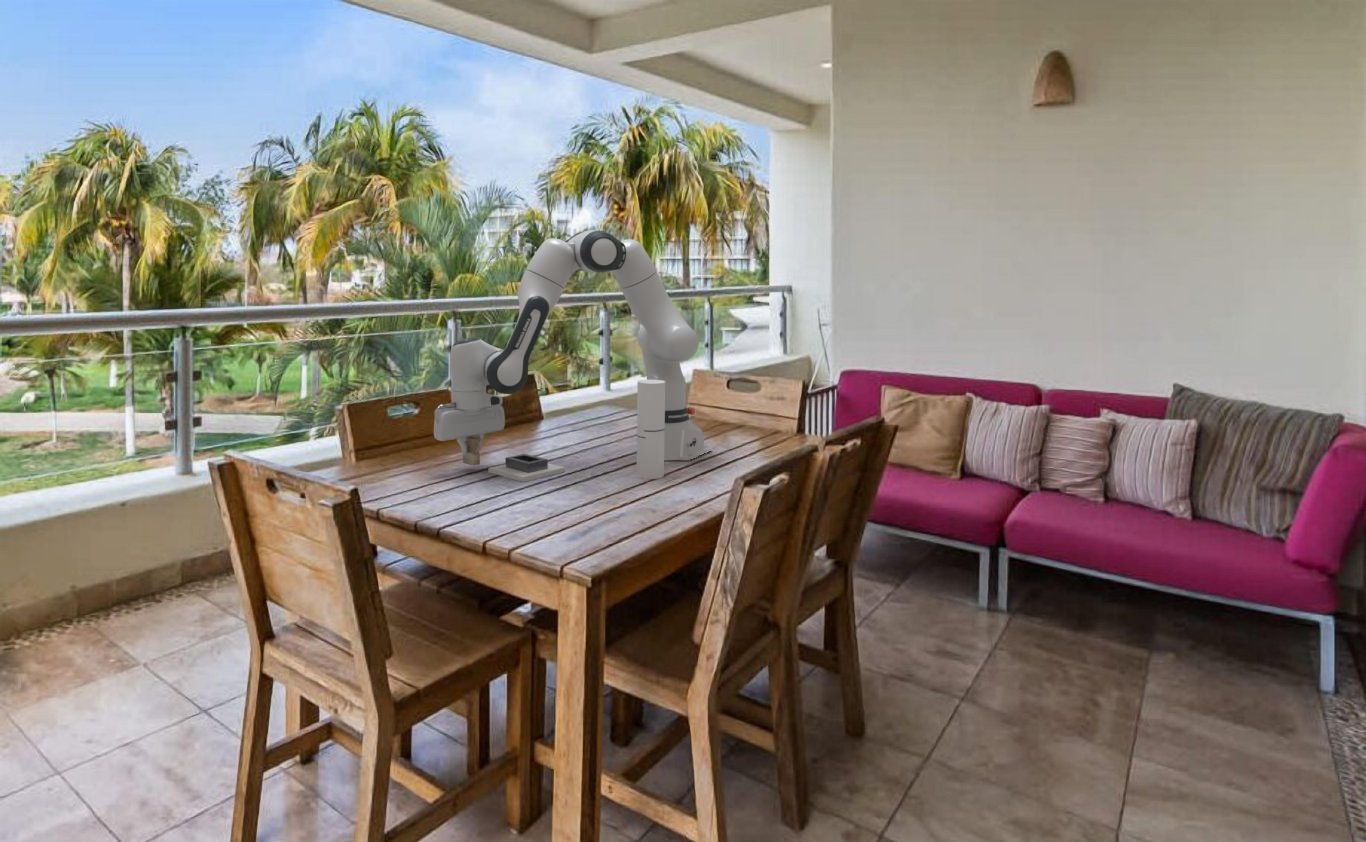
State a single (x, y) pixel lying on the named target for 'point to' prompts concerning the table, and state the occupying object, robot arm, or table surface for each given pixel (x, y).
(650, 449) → the cylindrical container
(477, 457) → the wooden block
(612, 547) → the table surface
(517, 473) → the plate
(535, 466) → the frame
